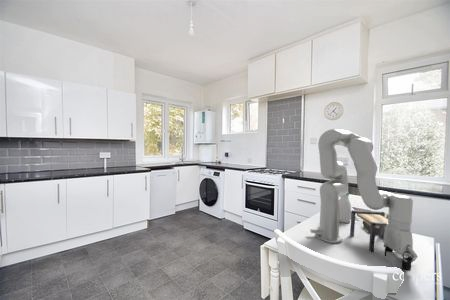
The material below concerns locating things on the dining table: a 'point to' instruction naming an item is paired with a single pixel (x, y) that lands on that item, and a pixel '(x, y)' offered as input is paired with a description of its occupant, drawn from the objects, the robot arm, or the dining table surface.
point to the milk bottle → (345, 209)
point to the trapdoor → (373, 218)
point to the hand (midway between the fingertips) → (396, 263)
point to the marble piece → (368, 225)
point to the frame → (372, 228)
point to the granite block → (394, 259)
